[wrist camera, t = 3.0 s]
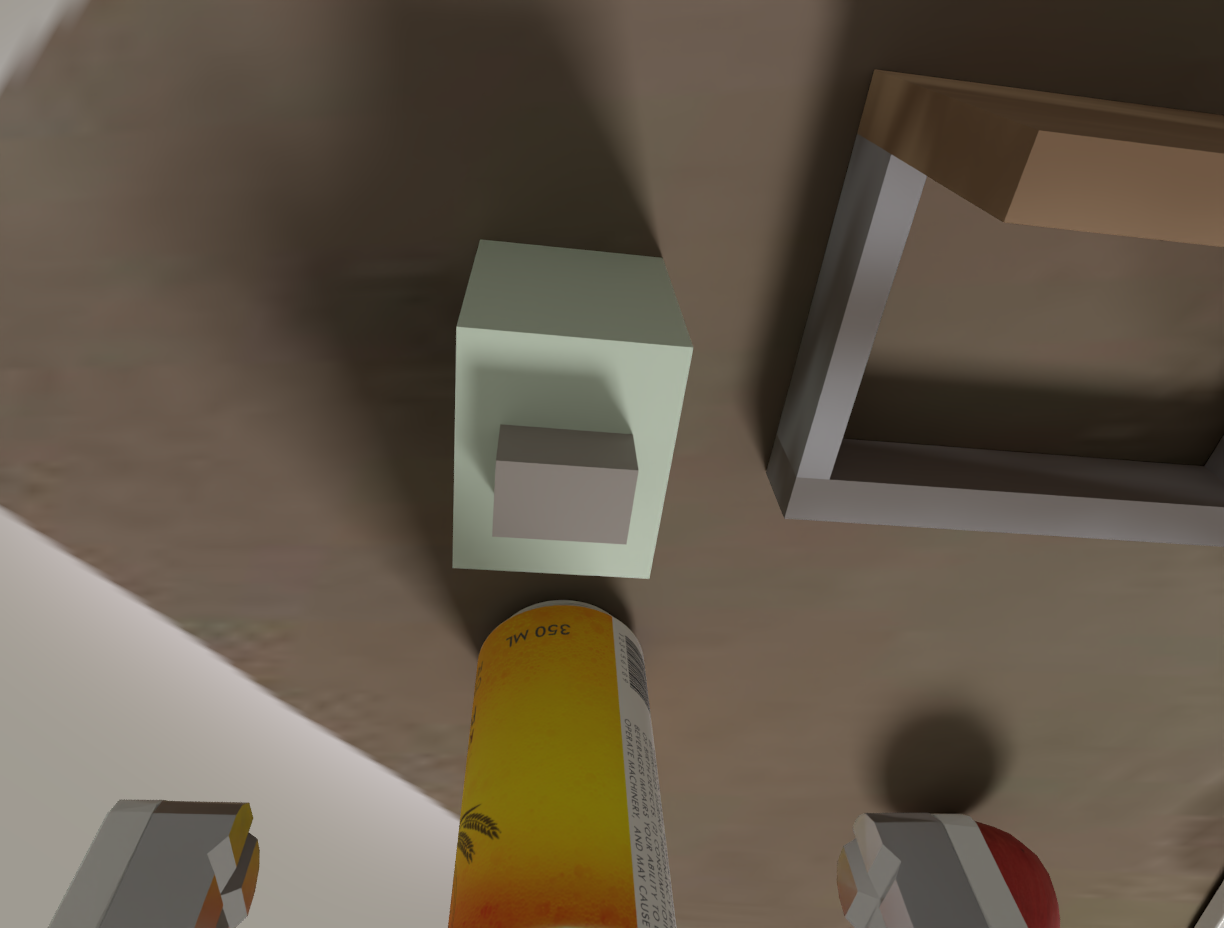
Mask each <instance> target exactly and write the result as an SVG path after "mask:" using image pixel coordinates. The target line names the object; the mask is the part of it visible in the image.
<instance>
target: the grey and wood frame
mask: <svg viewBox="0 0 1224 928" xmlns="http://www.w3.org/2000/svg"><path fill="white" fill-rule="evenodd" d="M927 176H928V177H930V178H931V179H933V180H935V181H936V182H938V183H940V184H941V185H943V186H944V187H946V188H948V189H949V190H951V191H953V192H954V193H956V194H958V195H959V196H961V197H963V198H964V199H966V200H968V201H969V202H971V203H972V204H974V205H976V206H977V207H979V208H981V209H982V210H984V211H986V212H987V213H989V214H991V215H992V216H994V217H996V218H997V219H999V220H1001V221H1002V222H1004V223H1013V224H1022V225H1031V226H1040V227H1049V228H1058V229H1067V230H1076V231H1085V232H1094V233H1103V234H1112V235H1121V236H1130V237H1139V238H1148V239H1157V240H1165V241H1174V242H1183V243H1192V244H1201V245H1210V246H1219V247H1224V115H1217V114H1209V113H1202V112H1194V111H1186V110H1179V109H1171V108H1164V107H1156V106H1149V105H1141V104H1133V103H1126V102H1118V101H1111V100H1103V99H1096V98H1088V97H1080V96H1073V95H1065V94H1058V93H1050V92H1043V91H1035V90H1028V89H1020V88H1012V87H1005V86H997V85H990V84H982V83H975V82H967V81H959V80H952V79H944V78H937V77H929V76H922V75H914V74H906V73H899V72H891V71H884V70H876V69H874V73H873V76H872V80H871V84H870V88H869V91H868V95H867V99H866V102H865V106H864V110H863V114H862V117H861V121H860V125H859V129H858V132H857V136H856V140H855V143H854V147H853V151H852V155H851V158H850V162H849V166H848V170H847V173H846V177H845V181H844V184H843V188H842V192H841V196H840V199H839V203H838V207H837V211H836V214H835V218H834V222H833V225H832V229H831V233H830V237H829V240H828V244H827V248H826V251H825V255H824V259H823V263H822V266H821V270H820V274H819V278H818V281H817V285H816V289H815V292H814V296H813V300H812V304H811V307H810V311H809V315H808V319H807V322H806V326H805V330H804V333H803V337H802V341H801V345H800V348H799V352H798V356H797V360H796V363H795V367H794V371H793V374H792V378H791V382H790V386H789V389H788V393H787V397H786V400H785V404H784V408H783V412H782V415H781V419H780V423H779V427H778V430H777V434H776V438H775V441H774V445H773V449H772V453H771V456H770V460H769V464H768V468H767V471H766V474H767V476H768V479H769V481H770V484H771V486H772V489H773V491H774V494H775V496H776V499H777V501H778V504H779V506H780V509H781V511H782V514H783V516H784V518H785V519H800V520H816V521H832V522H847V523H863V524H878V525H894V526H910V527H925V528H941V529H956V530H972V531H987V532H1003V533H1019V534H1034V535H1050V536H1065V537H1081V538H1097V539H1112V540H1128V541H1143V542H1159V543H1175V544H1190V545H1206V546H1221V547H1224V436H1223V437H1222V439H1221V440H1220V442H1219V444H1218V445H1217V447H1216V448H1215V450H1214V452H1213V453H1212V455H1211V457H1210V458H1209V460H1208V461H1207V463H1206V465H1205V466H1194V465H1181V464H1168V463H1155V462H1142V461H1129V460H1115V459H1102V458H1089V457H1076V456H1063V455H1050V454H1037V453H1024V452H1011V451H998V450H985V449H972V448H959V447H946V446H933V445H920V444H907V443H894V442H881V441H867V440H854V439H843V436H844V433H845V430H846V426H847V423H848V420H849V417H850V414H851V411H852V408H853V405H854V402H855V398H856V395H857V392H858V389H859V386H860V383H861V380H862V377H863V374H864V370H865V367H866V364H867V361H868V358H869V355H870V352H871V349H872V346H873V342H874V339H875V336H876V333H877V330H878V327H879V324H880V321H881V318H882V314H883V311H884V308H885V305H886V302H887V299H888V296H889V293H890V290H891V286H892V283H893V280H894V277H895V274H896V271H897V268H898V265H899V262H900V258H901V255H902V252H903V249H904V246H905V243H906V240H907V237H908V234H909V230H910V227H911V224H912V221H913V218H914V215H915V212H916V209H917V206H918V202H919V199H920V196H921V193H922V190H923V187H924V184H925V181H926V178H927Z"/></svg>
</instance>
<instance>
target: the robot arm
mask: <svg viewBox="0 0 1224 928" xmlns="http://www.w3.org/2000/svg"><path fill="white" fill-rule="evenodd" d="M252 820H253V815H252V812H251V808H250V804H249V803H237V802H191V801H190V802H188V801H187V802H186V801H166V800H119V801H118V802H117V803H116V805H115V806H114V807H113V808H112V809H111V810H110V811H109V812H108V813H107V815H106V817H105V819H104V821H103V823H102V825H101V826H100V828H99V830H98V832H97V834H96V836H95V838H94V840H93V842H92V844H91V846H90V848H89V850H88V851H87V853H86V855H85V857H84V859H83V861H82V863H81V865H80V867H79V869H78V871H77V872H76V875H75V877H74V878H73V880H72V882H71V884H70V886H69V888H68V890H67V892H66V894H65V895H64V897H63V899H62V901H61V903H60V905H59V907H58V909H57V911H56V913H55V915H54V917H53V919H52V921H51V923H50V924H49V926H48V928H236V927H237V926H238V925H239V924H240V923H241V922H242V921H243V920H244V919H245V918H246V917H247V916H248V912H249V909H250V906H251V903H252V899H253V896H254V892H255V888H256V882H257V876H258V871H259V851H260V850H259V845H258V840H257V838H256V837H254V836H253V835H251V834H250V833H249V829H250V826H251V823H252ZM853 830H854V833H855V836H856V839H854V840H853V841H851V842H849V843H848V844H846V845H845V846H843V849H842V851H841V854H840V856H839V859H838V862H837V886H838V892H839V898H840V902H841V905H842V909H843V912H844V916H845V918H846V919H847V920H848V921H849V922H850V923H851V924H852V925H853V926H854V927H855V928H1028V927H1027V925H1026V923H1025V921H1024V919H1023V917H1022V914H1021V912H1020V910H1019V908H1018V906H1017V904H1016V902H1015V900H1014V898H1013V896H1012V894H1011V892H1010V890H1009V888H1008V886H1007V884H1006V882H1005V880H1004V878H1003V876H1002V874H1001V872H1000V870H999V868H998V866H997V864H996V862H995V860H994V858H993V856H992V854H991V852H990V850H989V848H988V846H987V844H986V842H985V840H984V838H983V835H982V833H981V831H980V829H979V827H978V825H977V823H976V822H975V821H974V820H973V819H972V818H971V817H970V816H968V815H964V814H930V813H864V814H862V815H860V816H858V817H857V819H856V821H855V823H854V825H853ZM1194 928H1224V881H1223V882H1222V884H1221V886H1220V887H1219V889H1218V890H1217V892H1216V894H1215V895H1214V897H1213V898H1212V900H1211V901H1210V903H1209V905H1208V906H1207V908H1206V909H1205V911H1204V913H1203V914H1202V916H1201V917H1200V919H1199V920H1198V922H1197V924H1196V925H1195V927H1194Z"/></svg>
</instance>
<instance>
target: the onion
mask: <svg viewBox="0 0 1224 928" xmlns="http://www.w3.org/2000/svg"><path fill="white" fill-rule="evenodd" d="M975 822H976V821H975ZM976 823H977V825H978V827H979V829H980V831H981V833H982V835H983V838H984V840H985V842H986V844H987V846H988V848H989V850H990V852H991V854H992V856H993V858H994V860H995V862H996V864H997V866H998V868H999V870H1000V872H1001V874H1002V876H1003V878H1004V880H1005V882H1006V884H1007V886H1008V888H1009V890H1010V892H1011V894H1012V896H1013V898H1014V900H1015V902H1016V904H1017V906H1018V908H1019V910H1020V912H1021V914H1022V917H1023V919H1024V921H1025V923H1026V925H1027V927H1028V928H1060V915H1059V906H1058V902H1057V898H1056V894H1055V891H1054V888H1053V885H1052V882H1051V879H1050V876H1049V874H1048V872H1047V870H1046V869H1045V867H1044V866H1043V864H1042V863H1041V861H1040V860H1039V858H1038V857H1037V855H1036V854H1034V853H1033V852H1032V851H1031V850H1030V849H1028V848H1027V847H1026V846H1025V845H1024V844H1022V843H1021V842H1020V841H1019V840H1017V839H1016V838H1015V837H1013V836H1012V835H1011V834H1009V833H1007V832H1004V831H1002V830H1000V829H997V828H995V827H992V826H989V825H986V824H982V823H979V822H976Z"/></svg>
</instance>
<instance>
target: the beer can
mask: <svg viewBox="0 0 1224 928" xmlns="http://www.w3.org/2000/svg"><path fill="white" fill-rule="evenodd" d="M448 924H449V925H448V928H676V920H675V912H674V904H673V895H672V887H671V879H670V871H669V862H668V854H667V846H666V838H665V830H664V821H663V813H662V805H661V797H660V789H659V780H658V772H657V764H656V756H655V747H654V739H653V731H652V723H651V715H650V706H649V698H648V690H647V682H646V674H645V665H644V657H643V652H642V648H641V646H640V643H639V641H638V640H637V638H636V636H635V635H634V634H633V632H632V631H631V630H630V629H629V628H628V627H627V626H626V625H625V624H623V623H622V622H621V621H619V620H618V619H616V618H614V617H613V616H611V615H610V614H609V613H607V612H606V611H604V610H602V609H600V608H598V607H596V606H594V605H591V604H588V603H584V602H580V601H573V600H553V601H546V602H541V603H537V604H534V605H531V606H529V607H526V608H524V609H522V610H520V611H519V612H517V613H516V614H514V615H513V616H511V617H510V618H509V619H507V620H506V621H504V622H503V623H501V624H500V625H499V626H498V627H496V628H495V629H494V630H493V631H492V632H491V633H490V634H489V636H488V637H487V639H486V640H485V641H484V643H483V645H482V647H481V650H480V653H479V658H478V665H477V674H476V683H475V692H474V701H473V710H472V719H471V728H470V736H469V745H468V754H467V763H466V772H465V781H464V790H463V799H462V808H461V817H460V825H459V834H458V843H457V852H456V861H455V871H454V879H453V889H452V897H451V906H450V915H449V923H448Z"/></svg>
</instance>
